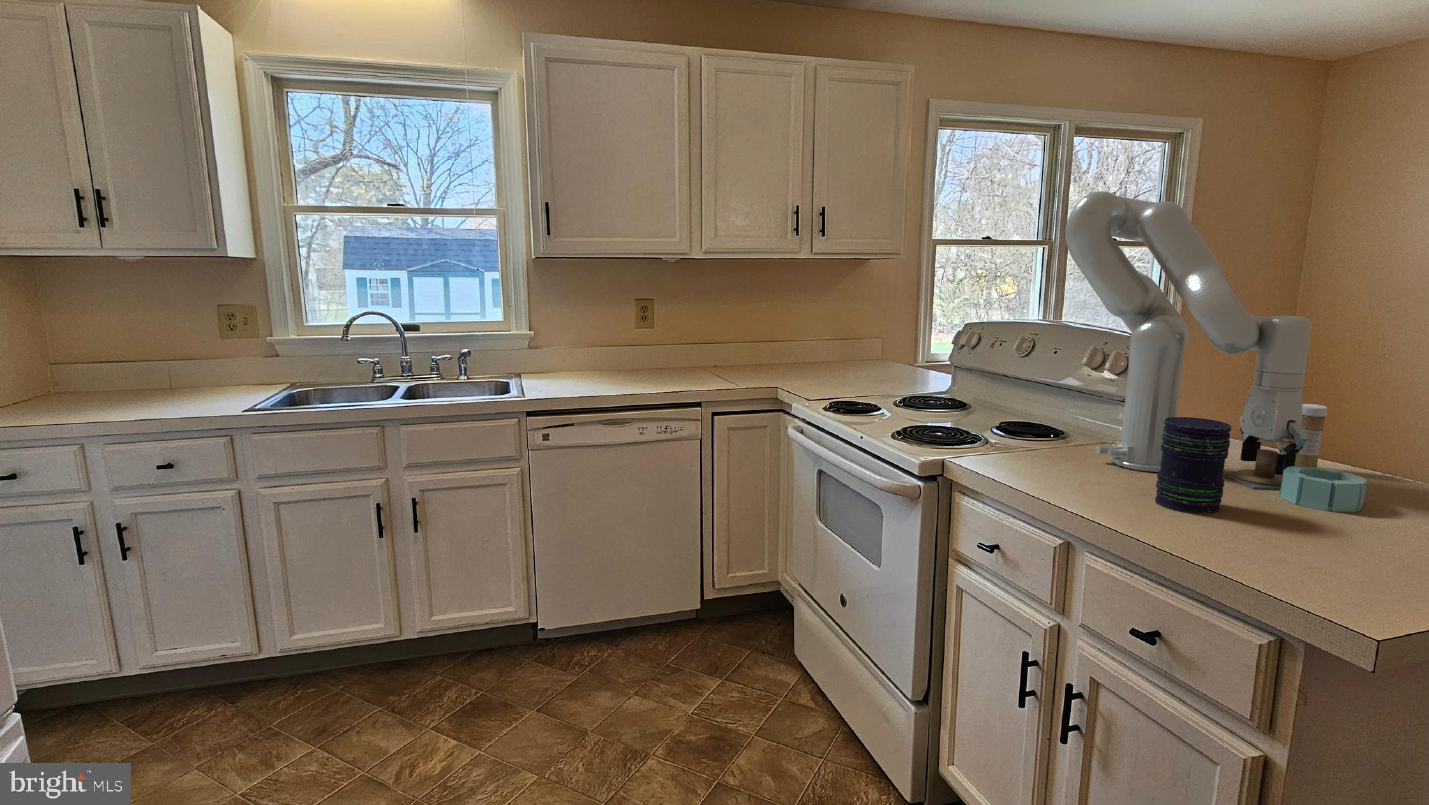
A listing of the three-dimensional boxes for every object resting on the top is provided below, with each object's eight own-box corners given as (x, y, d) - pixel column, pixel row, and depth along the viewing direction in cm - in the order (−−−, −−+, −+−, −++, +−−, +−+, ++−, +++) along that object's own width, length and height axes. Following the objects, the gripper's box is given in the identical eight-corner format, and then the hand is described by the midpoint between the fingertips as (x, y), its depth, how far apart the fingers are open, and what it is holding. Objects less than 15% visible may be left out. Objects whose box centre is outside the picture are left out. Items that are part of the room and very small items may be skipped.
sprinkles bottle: (1292, 464, 153) (1302, 402, 150) (1320, 468, 149) (1330, 405, 147) (1286, 467, 150) (1296, 405, 148) (1314, 472, 147) (1324, 408, 144)
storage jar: (1142, 502, 128) (1152, 420, 125) (1172, 493, 133) (1182, 414, 130) (1202, 518, 120) (1214, 431, 117) (1232, 508, 124) (1244, 425, 122)
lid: (1254, 486, 136) (1258, 456, 135) (1225, 473, 145) (1229, 445, 144) (1304, 487, 135) (1309, 457, 134) (1272, 474, 144) (1276, 446, 143)
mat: (1253, 489, 136) (1253, 486, 136) (1220, 474, 145) (1221, 472, 145) (1309, 490, 135) (1309, 488, 135) (1272, 475, 145) (1272, 473, 145)
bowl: (1310, 511, 123) (1314, 483, 122) (1266, 491, 134) (1270, 465, 133) (1378, 512, 122) (1383, 484, 121) (1329, 493, 133) (1333, 467, 132)
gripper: (1229, 374, 145) (1218, 455, 148) (1289, 388, 128) (1275, 479, 131) (1268, 374, 145) (1256, 456, 148) (1334, 388, 128) (1319, 480, 131)
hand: (1265, 467), depth 140 cm, fingers open, 9 cm apart
